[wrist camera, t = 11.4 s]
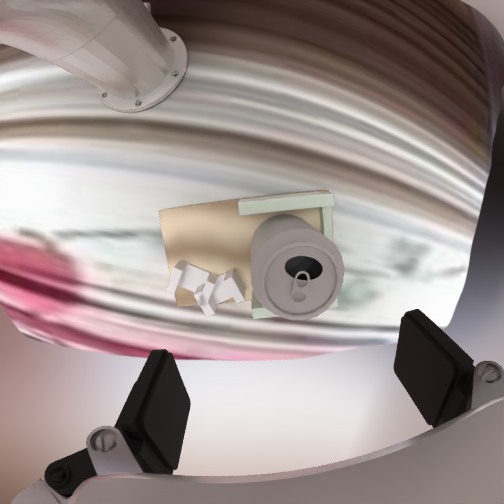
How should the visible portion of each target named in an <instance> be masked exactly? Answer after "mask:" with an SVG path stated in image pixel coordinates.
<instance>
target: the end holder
mask: <svg viewBox="0 0 504 504" xmlns="http://www.w3.org/2000/svg"><path fill="white" fill-rule="evenodd" d="M331 206H334V196H333V193H329V192H322V191H317V192H306V193H295V194H285V195H275V196H266V197H257V198H248V199H240V201H239V202H238V207H239V214H240V216H241V215H250V214H258V213H267V212H276V211H285V210H295V209H305V208H315V207H319V212H320V225H321V233H322V234H323V235H324V236H326V237H327V238H328V239H329V240H331V241H332V242H333V226H332V211H331ZM333 308H338V297H337V298H336V300H335V301H334V302H333V303H332V305H331V306H330V307H329V308H328V309H333ZM252 313H253V319H259V318H268V317H276V316H278V315H275V314H273V313H272V312H270V311H269V310H267V309H266V308H264V307H263V306H262V304H261V303H260V302H259V300H258V299H257V298H256V297H255V294H254V291H253V290H252Z"/></svg>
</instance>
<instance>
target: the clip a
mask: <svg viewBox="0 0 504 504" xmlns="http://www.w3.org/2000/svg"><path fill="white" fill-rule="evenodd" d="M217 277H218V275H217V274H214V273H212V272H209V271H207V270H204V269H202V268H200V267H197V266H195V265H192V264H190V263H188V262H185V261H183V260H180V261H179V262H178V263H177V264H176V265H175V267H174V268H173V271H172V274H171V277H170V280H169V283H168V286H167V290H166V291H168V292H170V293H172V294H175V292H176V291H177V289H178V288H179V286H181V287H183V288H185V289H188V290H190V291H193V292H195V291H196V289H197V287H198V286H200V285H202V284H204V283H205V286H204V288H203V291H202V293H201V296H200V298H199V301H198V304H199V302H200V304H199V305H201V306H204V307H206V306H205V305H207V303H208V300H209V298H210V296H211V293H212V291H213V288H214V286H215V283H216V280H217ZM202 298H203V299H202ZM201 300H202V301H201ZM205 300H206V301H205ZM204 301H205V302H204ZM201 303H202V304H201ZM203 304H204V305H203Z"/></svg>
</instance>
